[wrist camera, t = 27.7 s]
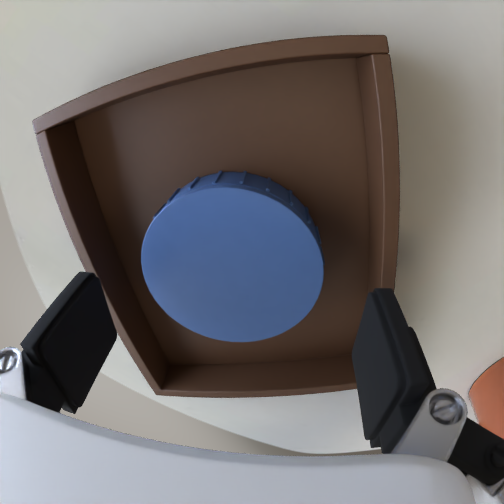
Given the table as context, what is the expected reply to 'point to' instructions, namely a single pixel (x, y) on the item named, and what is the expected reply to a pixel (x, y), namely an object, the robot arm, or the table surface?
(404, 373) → the robot arm
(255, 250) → the lid
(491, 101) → the table surface
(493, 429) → the jar
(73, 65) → the table surface
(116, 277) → the tray
